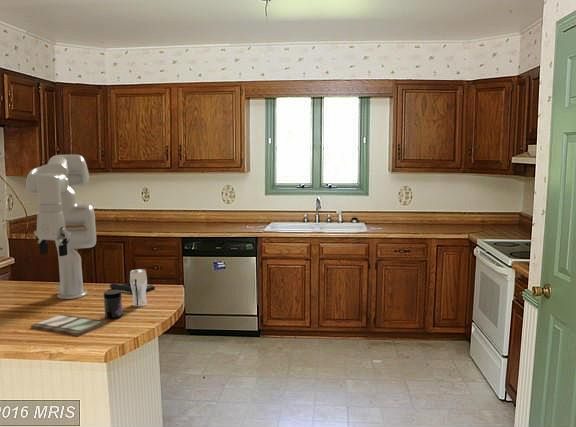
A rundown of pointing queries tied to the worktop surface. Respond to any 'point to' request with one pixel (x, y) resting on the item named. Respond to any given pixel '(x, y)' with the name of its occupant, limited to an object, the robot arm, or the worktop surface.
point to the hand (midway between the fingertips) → (53, 254)
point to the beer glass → (138, 287)
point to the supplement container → (113, 304)
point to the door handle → (127, 287)
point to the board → (69, 324)
